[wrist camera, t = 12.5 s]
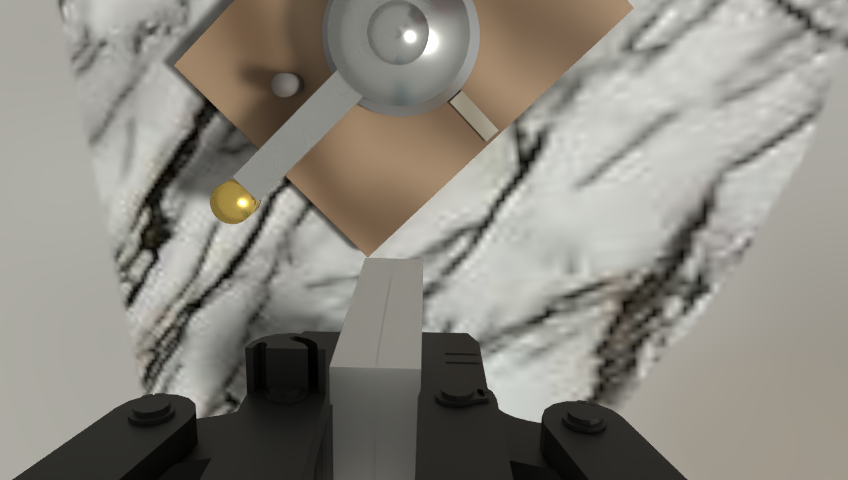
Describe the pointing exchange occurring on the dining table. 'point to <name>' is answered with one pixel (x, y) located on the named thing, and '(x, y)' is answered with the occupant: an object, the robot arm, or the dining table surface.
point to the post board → (382, 124)
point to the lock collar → (357, 84)
